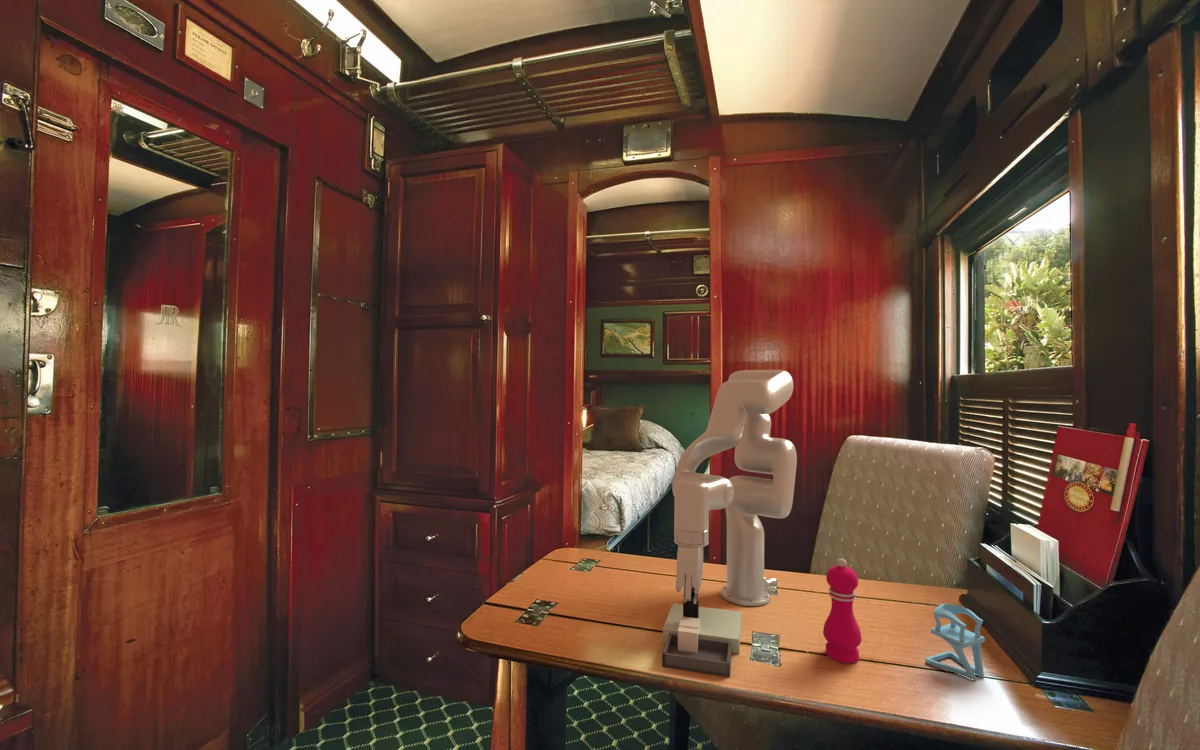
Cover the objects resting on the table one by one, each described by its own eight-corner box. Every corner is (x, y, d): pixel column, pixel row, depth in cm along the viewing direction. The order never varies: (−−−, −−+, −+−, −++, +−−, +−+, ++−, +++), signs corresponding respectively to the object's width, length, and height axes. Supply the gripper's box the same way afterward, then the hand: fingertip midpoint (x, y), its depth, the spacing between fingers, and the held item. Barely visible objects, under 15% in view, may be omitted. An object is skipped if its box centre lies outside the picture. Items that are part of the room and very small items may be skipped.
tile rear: (681, 625, 116) (681, 616, 116) (700, 627, 115) (700, 618, 115) (679, 634, 112) (679, 624, 112) (698, 636, 111) (698, 627, 111)
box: (669, 645, 114) (669, 633, 114) (731, 654, 110) (731, 642, 110) (662, 666, 105) (662, 653, 105) (729, 677, 101) (729, 664, 101)
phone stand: (966, 684, 100) (967, 620, 100) (924, 662, 107) (924, 603, 107) (992, 675, 103) (992, 613, 103) (949, 655, 110) (949, 597, 110)
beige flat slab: (672, 615, 128) (672, 603, 128) (741, 624, 123) (741, 611, 123) (662, 642, 114) (662, 628, 115) (739, 654, 110) (739, 639, 110)
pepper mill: (859, 669, 105) (859, 567, 105) (820, 658, 108) (820, 560, 109) (863, 653, 111) (863, 557, 111) (826, 644, 114) (826, 551, 115)
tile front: (679, 626, 112) (677, 630, 110) (698, 629, 111) (697, 633, 109) (679, 645, 112) (677, 650, 110) (698, 648, 111) (697, 652, 109)
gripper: (679, 525, 126) (678, 604, 125) (669, 544, 111) (668, 632, 111) (711, 528, 123) (711, 608, 123) (705, 547, 109) (704, 637, 109)
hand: (690, 619), depth 117 cm, fingers closed
